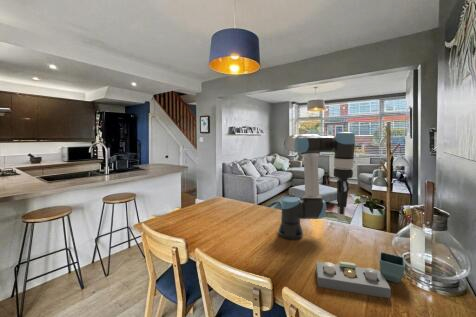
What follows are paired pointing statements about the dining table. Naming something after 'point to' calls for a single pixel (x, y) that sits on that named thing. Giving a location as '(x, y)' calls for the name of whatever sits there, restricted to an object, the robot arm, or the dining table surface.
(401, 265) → the flower pot
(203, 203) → the dining table surface
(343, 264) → the block
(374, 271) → the white rounded dome
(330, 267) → the white rounded piece
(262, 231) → the dining table surface
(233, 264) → the dining table surface
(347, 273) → the brass button
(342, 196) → the robot arm
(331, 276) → the console
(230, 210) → the dining table surface
